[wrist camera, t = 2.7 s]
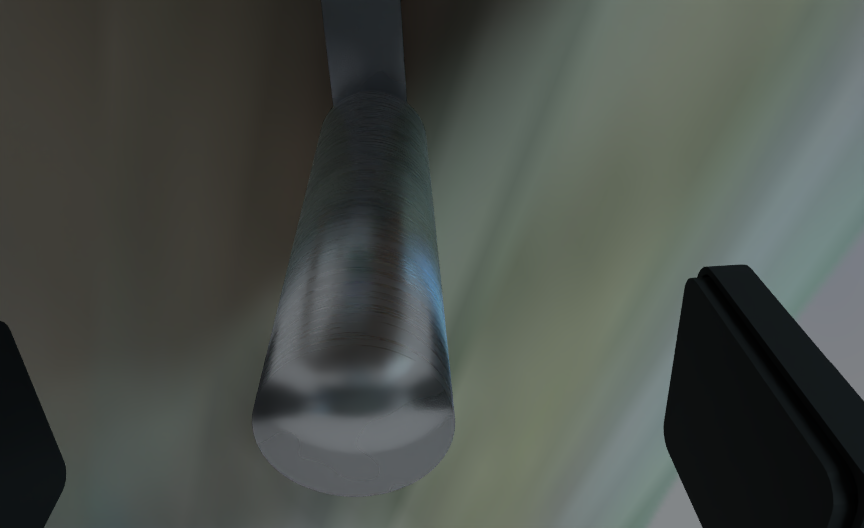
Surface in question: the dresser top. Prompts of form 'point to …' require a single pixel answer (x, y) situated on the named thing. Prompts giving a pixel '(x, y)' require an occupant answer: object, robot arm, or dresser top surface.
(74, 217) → the dresser top surface
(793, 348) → the robot arm
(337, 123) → the gray frame with handle
